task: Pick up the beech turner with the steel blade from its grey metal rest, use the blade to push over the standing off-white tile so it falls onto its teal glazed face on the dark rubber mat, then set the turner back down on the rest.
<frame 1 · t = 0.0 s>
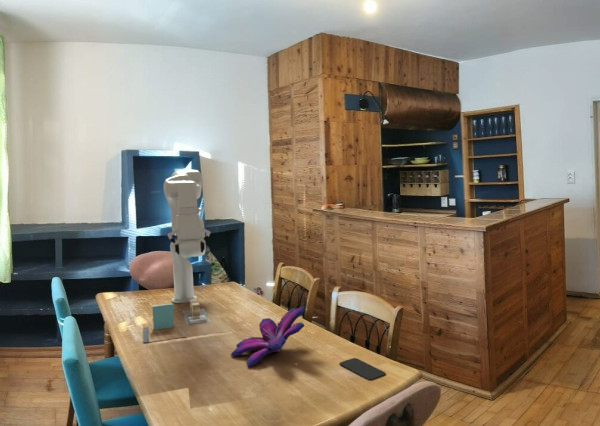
hand: (190, 252, 185), 31 cm above the table, tool pointing down, fingers open, 9 cm apart
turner: (195, 316, 199), point 1 cm above the table, touching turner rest
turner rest: (195, 318, 199), on the table
phone: (361, 371, 141), on the table
mat: (164, 332, 181), on the table
decorative flower: (270, 353, 157), on the table
tile: (163, 316, 184), point 5 cm above the table, touching mat
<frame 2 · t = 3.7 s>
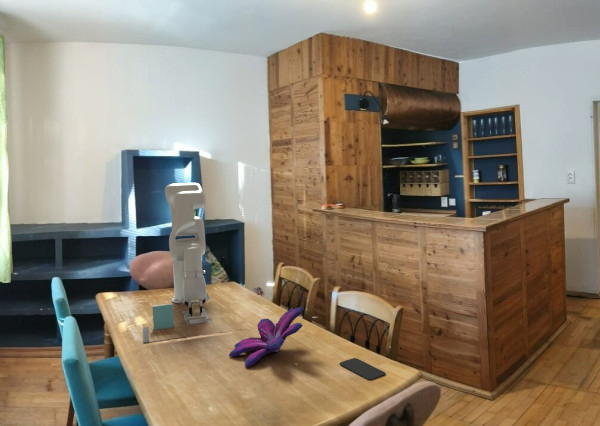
hand: (195, 314, 199), 2 cm above the table, tool pointing down, fingers closed on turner, 3 cm apart
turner: (195, 316, 199), point 1 cm above the table, touching gripper
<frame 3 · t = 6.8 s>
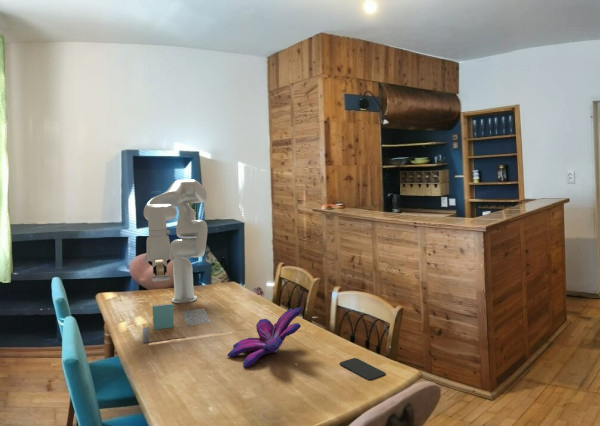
hand: (160, 274, 198), 20 cm above the table, tool pointing down, fingers closed on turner, 3 cm apart
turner: (160, 276, 198), point 19 cm above the table, touching gripper
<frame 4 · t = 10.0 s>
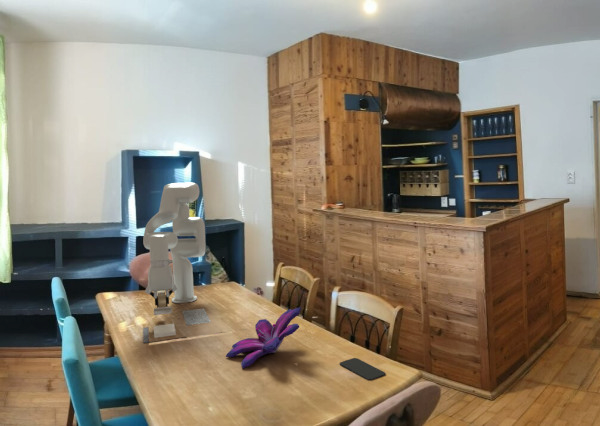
hand: (162, 305, 191), 8 cm above the table, tool pointing down, fingers closed on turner, 3 cm apart
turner: (162, 307, 191), point 7 cm above the table, touching gripper
tile: (164, 331, 179), point 1 cm above the table, tilted 90°, touching mat
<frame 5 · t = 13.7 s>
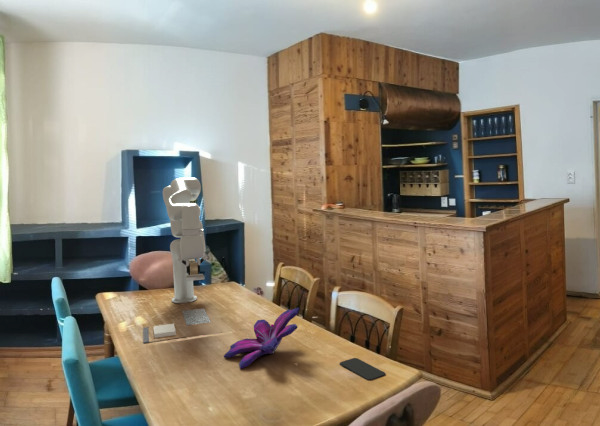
hand: (193, 273, 197), 20 cm above the table, tool pointing down, fingers closed on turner, 3 cm apart
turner: (193, 275, 197), point 19 cm above the table, touching gripper
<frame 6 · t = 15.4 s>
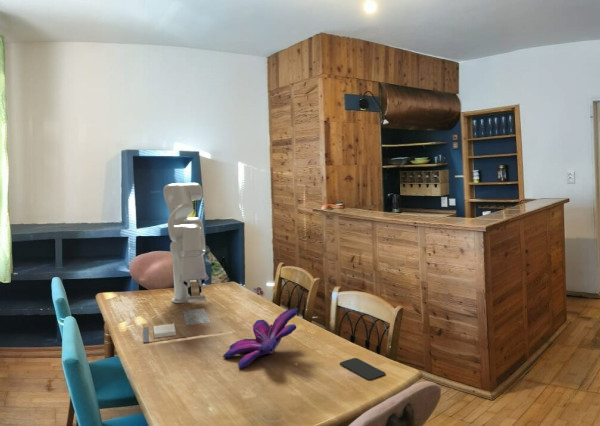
hand: (194, 294, 198), 11 cm above the table, tool pointing down, fingers closed on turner, 3 cm apart
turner: (194, 296, 198), point 10 cm above the table, touching gripper
when the fingers open (3 cm above the table, at t = 17.1 s): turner drops 1 cm, resting on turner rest.
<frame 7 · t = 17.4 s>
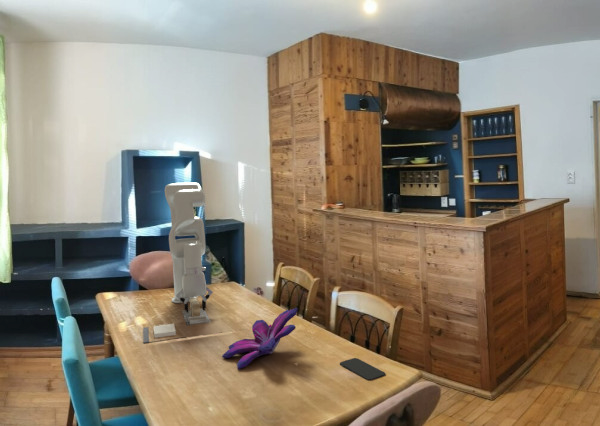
hand: (195, 310, 198), 4 cm above the table, tool pointing down, fingers open, 6 cm apart
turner: (195, 316, 199), point 1 cm above the table, touching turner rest
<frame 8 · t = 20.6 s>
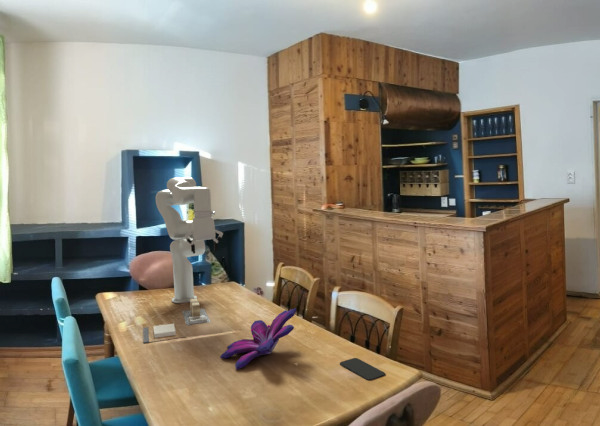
hand: (204, 252, 204), 28 cm above the table, tool pointing down, fingers open, 9 cm apart
at the end: tile tilted 90°; tile inside the target area (0.5 cm from its centre), point 1.5 cm above the table; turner inside the target area on the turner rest (0.1 cm from its centre), point 1.0 cm above the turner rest's base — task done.
